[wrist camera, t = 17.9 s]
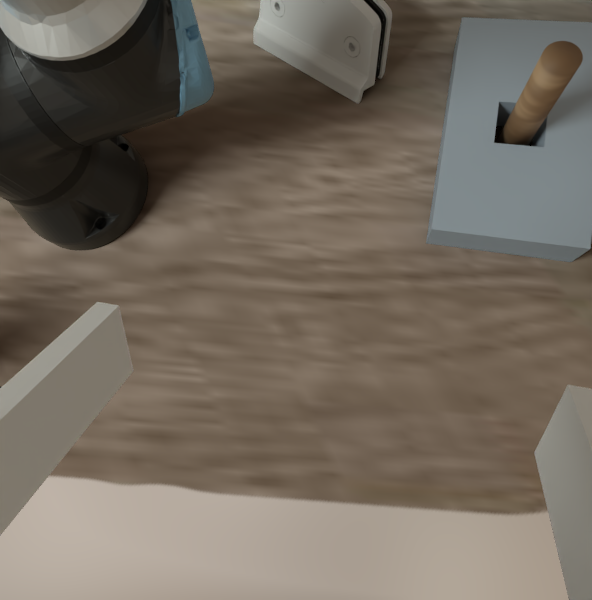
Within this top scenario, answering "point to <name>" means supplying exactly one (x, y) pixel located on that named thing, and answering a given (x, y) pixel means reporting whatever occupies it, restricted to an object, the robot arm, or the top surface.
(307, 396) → the top surface
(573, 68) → the peg
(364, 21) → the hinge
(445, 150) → the hole block
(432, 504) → the top surface
